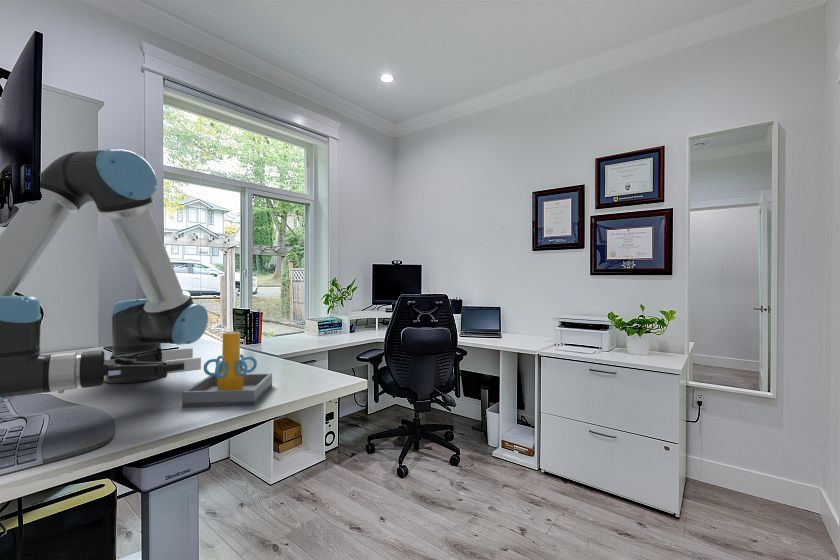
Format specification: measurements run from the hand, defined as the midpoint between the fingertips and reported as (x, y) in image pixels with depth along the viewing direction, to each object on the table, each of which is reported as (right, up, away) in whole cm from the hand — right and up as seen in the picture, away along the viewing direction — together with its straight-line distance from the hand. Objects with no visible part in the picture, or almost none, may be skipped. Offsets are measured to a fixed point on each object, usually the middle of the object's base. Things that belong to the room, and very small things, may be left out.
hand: (196, 358), depth 94 cm
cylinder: (+6, -10, +5) cm, 12 cm away
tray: (+6, -11, +5) cm, 13 cm away
